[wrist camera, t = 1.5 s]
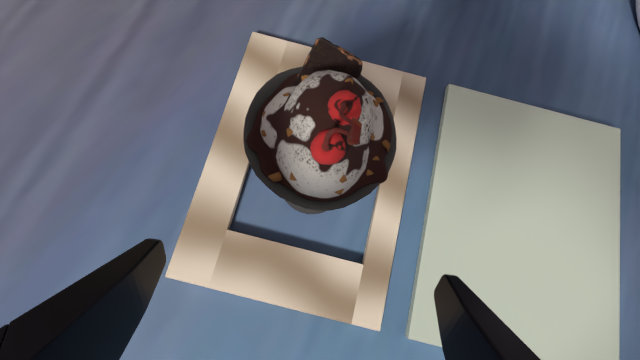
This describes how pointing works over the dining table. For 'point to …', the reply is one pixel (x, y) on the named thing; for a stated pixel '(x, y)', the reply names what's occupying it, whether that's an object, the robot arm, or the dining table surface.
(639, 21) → the white curved piece
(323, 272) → the wooden picture frame
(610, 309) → the stub pad
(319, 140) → the sundae
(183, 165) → the dining table surface
